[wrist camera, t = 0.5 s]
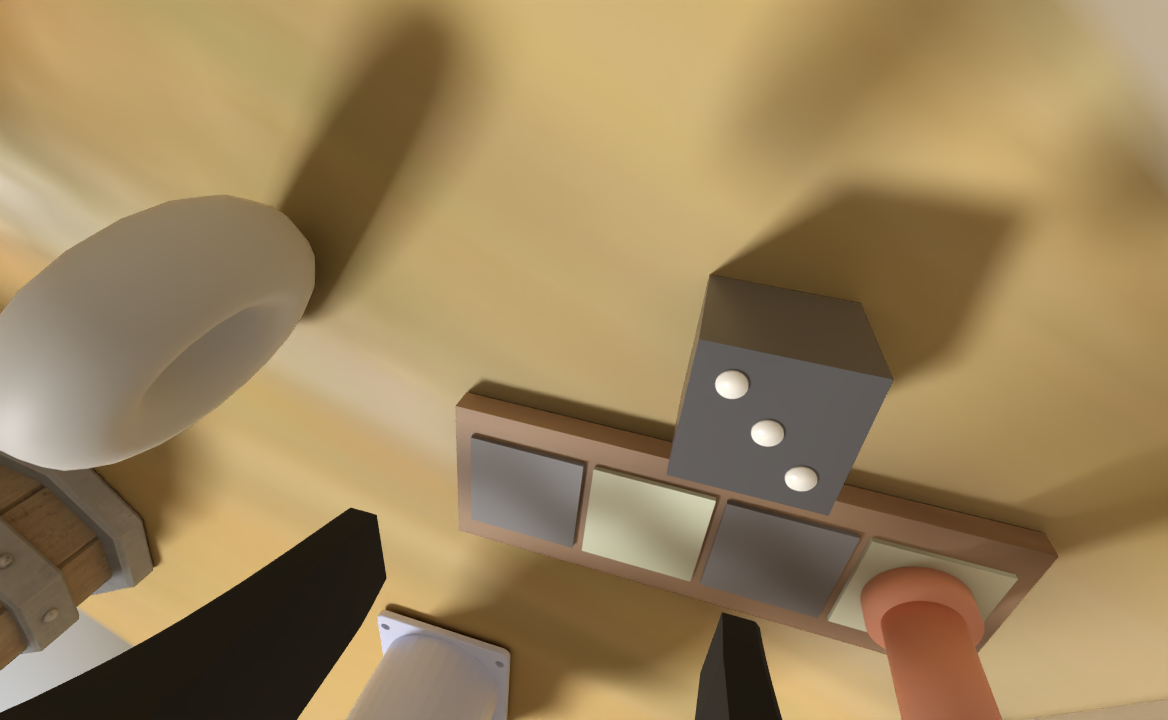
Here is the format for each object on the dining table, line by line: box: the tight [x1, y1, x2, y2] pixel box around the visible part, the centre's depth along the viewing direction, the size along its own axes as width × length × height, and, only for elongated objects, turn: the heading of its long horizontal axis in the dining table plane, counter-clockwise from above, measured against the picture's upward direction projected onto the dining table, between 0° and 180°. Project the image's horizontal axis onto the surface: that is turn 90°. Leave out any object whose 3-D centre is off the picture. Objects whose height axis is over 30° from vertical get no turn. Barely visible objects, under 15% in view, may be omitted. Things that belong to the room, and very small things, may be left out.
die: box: [666, 275, 893, 516], centre depth 16 cm, size 4×5×5 cm
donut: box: [0, 195, 315, 471], centre depth 17 cm, size 10×4×10 cm, turn 140°
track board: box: [456, 392, 1058, 654], centre depth 21 cm, size 7×21×1 cm, turn 84°
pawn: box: [860, 567, 1002, 720], centre depth 17 cm, size 4×4×7 cm
